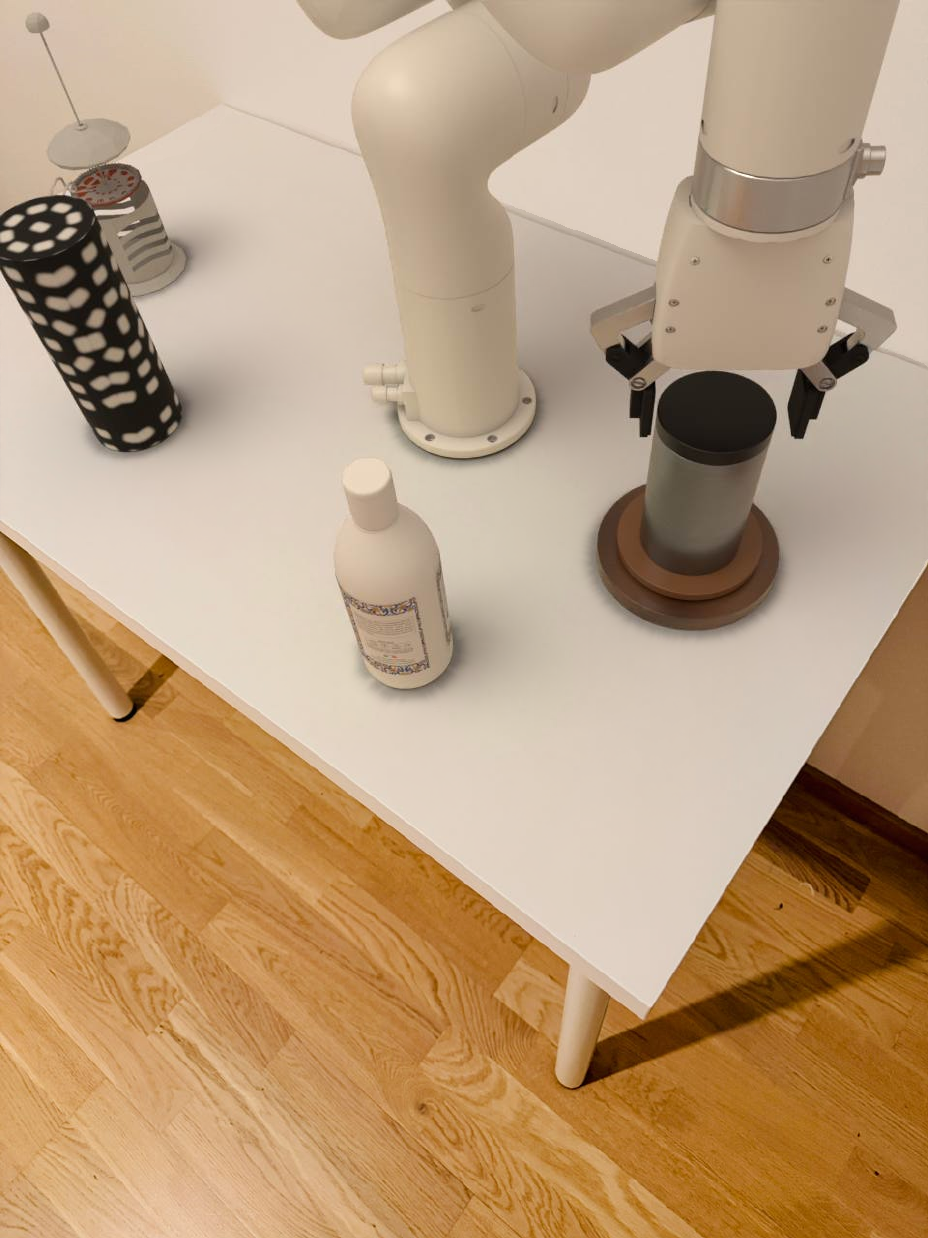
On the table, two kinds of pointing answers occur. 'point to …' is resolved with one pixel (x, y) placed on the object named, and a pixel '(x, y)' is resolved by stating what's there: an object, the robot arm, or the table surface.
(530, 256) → the table surface
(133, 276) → the french press
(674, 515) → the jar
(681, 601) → the turntable base
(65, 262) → the spotted tube
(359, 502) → the bath foam
